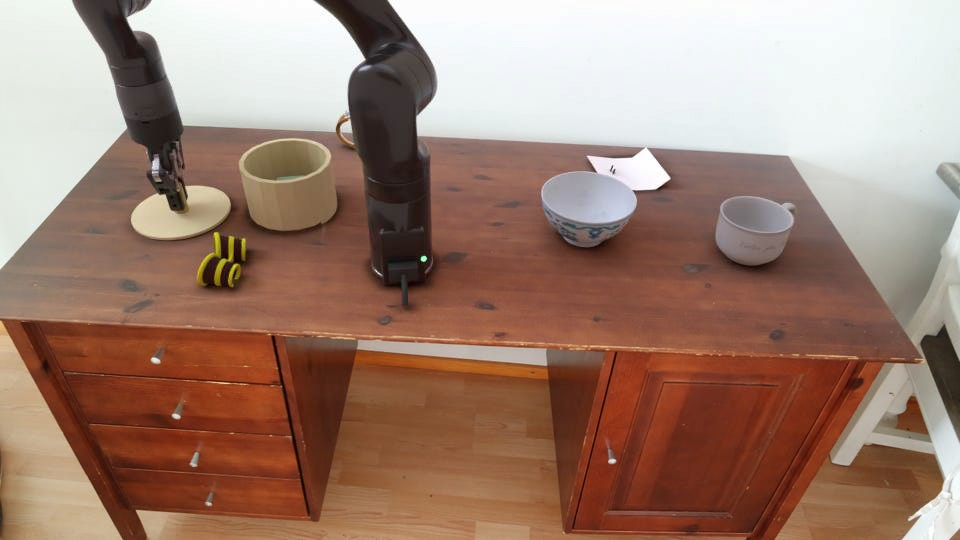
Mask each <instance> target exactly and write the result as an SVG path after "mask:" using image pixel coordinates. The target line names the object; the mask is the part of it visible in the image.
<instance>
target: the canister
mask: <svg viewBox="0 0 960 540" xmlns="http://www.w3.org/2000/svg"><path fill="white" fill-rule="evenodd" d="M332 158H333V157H332V154H331V152H330V149H329V148H327V147H326V146H325V145H324V144H322V143H320V142H317V141H314V140H312V139H308V138H307V139H306V138H297V137H289V138H288V137H287V138H278V139H273V140H268V141H264V142H262V143H259V144H258V145H255V146H253V147H251V148H250V149H248V150H247V151H245V152H244V153H243V154H242V155H241V157H240V159H239V160H238V170H239V174H240V178H241V182H242V186H243V190H244V196H245V200H246V203H247V209H248V212H249V217H250V218H251V220H253V222H255V223H256V224H257V225H259V226H261V227H263V228H266V229H268V230H275V231H282V232H287V231H299V230H303V229H307V228H311V227H315V226H316V225H318V224H320V223H321V225H324V224H326V223H327V222H328V221H329V220H331V219H332V217H334V215H335V213H336V212H337V209H338V197H337V189H336V182H335V181H336V180H335V172H334V165H333V159H332ZM302 175H304V177H300V178H296V179H291V180H278V181H276V179H277V177H287V176H302Z"/></svg>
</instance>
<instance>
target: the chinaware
mask: <svg viewBox="0 0 960 540" xmlns="http://www.w3.org/2000/svg"><path fill="white" fill-rule="evenodd" d="M540 197H541V205H542V208H543V212H544V214H545V217H546V219H547V221H548V223H549V224H550V225H551V227H552V228H553V229H554V230H555V231H556V232H557V233H558V234H560V235H561V236H562V237H563V239H564V240H565V241H566V242H568V243H569V244H571V245H573V246H575V247H580V248H591V247H595V246H598V245H599V244H601V243H602V242H604V241H607V240H609V239H611V238H613V237H615V236H616V235H617V234H619V233H620V232H621V231H622V230H623V229H624V228H625V227H626V226H627V225H628V223H629V221H630V220H631V219H632V217H633V215H634V213H635V210H636V208H637V205H638V200H637V196H636V193H635V192H634V190H631V188H630V187H628V186H627V185H626V184H625V183H623V182H621V181H620V180H618V179H616V178H613V177H611V176H608V175H604V174H600V173H597V172H594V171H582V170H579V171H577V170H576V171H569V172H564V173H563V172H562V173H560V174H556V175H554V176H552V177H550V179H548V180H546V182H545V183H544V184H543V185H542V187H541V192H540Z"/></svg>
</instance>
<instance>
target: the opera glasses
mask: <svg viewBox="0 0 960 540" xmlns="http://www.w3.org/2000/svg"><path fill="white" fill-rule="evenodd" d="M212 241H213V242H212V243H213V244H212V245H213V252H211V253H209V254H207V256H205V258H204V259H203V260H202V262H201V264H200V265H199V268H198V270H197V277H196V279H197V282H198V284H199V285H200V286H202V287H206V286H208V285H215V286H217V287H222V286H224V287H227V286H228V287H230V288H234V286H235V285H234V284H235V283H233V279H234V280H238V279H239V278H240V276H241V272H242V267H241V265H240V264H239V263H234V262H235V261H237V262H239V261H242V262H246V251H247V238H241V239H240V238H239V237H238V238H236V237H235V236H232V235H229V236H227V235H222V234H220V233H219V232H218V231H215V232H214V233H213V237H212Z"/></svg>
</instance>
